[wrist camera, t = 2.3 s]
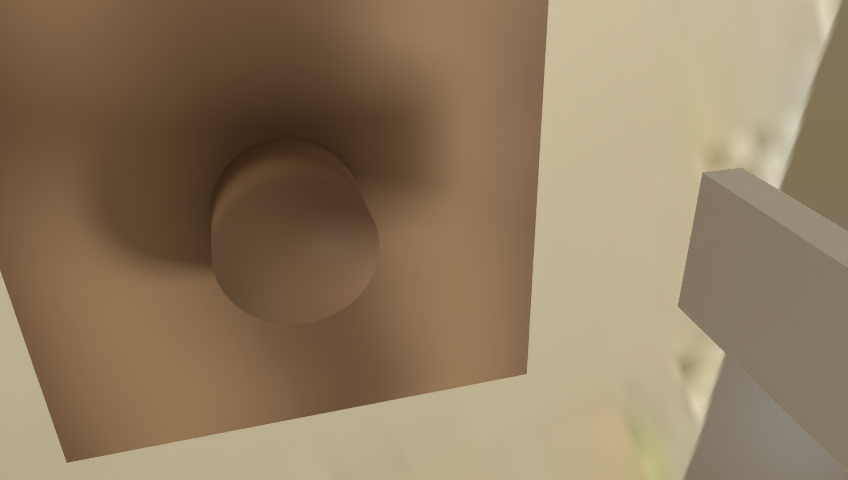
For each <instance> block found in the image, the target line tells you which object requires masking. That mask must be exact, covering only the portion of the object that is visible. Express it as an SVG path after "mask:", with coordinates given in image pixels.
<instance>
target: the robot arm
mask: <svg viewBox="0 0 848 480" xmlns="http://www.w3.org/2000/svg"><path fill="white" fill-rule="evenodd" d="M678 307H679V308H680V309H681V310H682V311H683V312H684V313H685V314H686V315H687V316H688V317H689V318H690V319H691V320H692V321H693V322H694V323H696V324H697V325H698V326H699V327H700V328H701V329H702V330H703V331H704V332H705V333H706V334H707V335H708V336H709V337H710V338H711V339H712V340H713V341H714V342H715V343H716V344H717V345H718V346H719V347H720V348H721V349H722V350H723V351H724V352H725V353H726V354H727V355H728V356H729V357H730V358H731V359H732V360H733V361H734V362H735V363H736V364H737V365H738V366H739V367H740V368H741V369H742V370H743V371H745V372H746V373H747V374H748V375H749V376H750V377H751V378H752V379H753V380H754V381H755V382H756V383H757V384H758V385H759V386H760V387H761V388H762V389H763V390H764V391H765V392H766V393H767V394H768V395H769V396H770V397H771V398H772V399H773V400H774V401H775V402H776V403H777V404H778V405H779V406H780V407H781V408H782V409H783V410H784V411H785V412H786V413H787V414H789V416H790V417H791V418H792V419H793V420H795V421H796V422H797V423H798V424H799V425H800V426H801V427H802V428H803V429H804V430H805V431H806V432H807V433H808V434H809V435H810V436H811V437H812V438H813V439H814V440H815V441H816V442H817V443H818V444H819V445H820V446H821V447H822V448H823V449H824V450H825V451H826V452H827V453H828V454H829V455H830V456H831V457H832V458H833V459H835V461H836V462H837V463H838V464H839V465H840V466H842V467H843V468H844V469H845V470H846V471H847V472H848V231H846V230H845V229H843V228H841V227H840V226H838V225H836V224H835V223H833V222H831V221H830V220H828V219H826V218H825V217H823V216H821V215H819V214H818V213H816V212H814V211H813V210H811V209H810V208H808V207H806V206H805V205H803V204H801V203H800V202H798V201H796V200H795V199H793V198H791V197H790V196H788V195H786V194H785V193H783V192H781V191H780V190H778V189H776V188H775V187H773V186H771V185H770V184H768V183H766V182H765V181H763V180H761V179H760V178H758V177H756V176H755V175H753V174H751V173H750V172H748V171H746V170H744V169H743V168H736V169H728V170H720V171H712V172H703V174H702V179H701V184H700V190H699V195H698V201H697V206H696V211H695V217H694V222H693V228H692V233H691V238H690V244H689V249H688V255H687V260H686V266H685V271H684V276H683V282H682V287H681V293H680V298H679V303H678Z"/></svg>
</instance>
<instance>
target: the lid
mask: <svg viewBox="0 0 848 480" xmlns="http://www.w3.org/2000/svg"><path fill="white" fill-rule="evenodd" d="M547 16H548V0H0V271H1V273H2V276H3V279H4V282H5V285H6V288H7V291H8V294H9V297H10V300H11V302H12V305H13V308H14V311H15V314H16V317H17V320H18V323H19V326H20V328H21V331H22V334H23V337H24V340H25V343H26V346H27V349H28V352H29V354H30V357H31V360H32V363H33V366H34V369H35V372H36V375H37V378H38V381H39V383H40V386H41V389H42V392H43V395H44V398H45V401H46V404H47V407H48V409H49V412H50V415H51V418H52V421H53V424H54V427H55V430H56V433H57V435H58V438H59V441H60V444H61V447H62V450H63V453H64V456H65V459H66V461H67V462H72V461H78V460H83V459H88V458H93V457H98V456H104V455H109V454H114V453H119V452H124V451H129V450H135V449H140V448H145V447H150V446H155V445H161V444H166V443H171V442H176V441H181V440H187V439H192V438H197V437H202V436H207V435H212V434H218V433H223V432H228V431H233V430H238V429H244V428H249V427H254V426H259V425H264V424H269V423H275V422H280V421H285V420H290V419H295V418H301V417H306V416H311V415H316V414H321V413H327V412H332V411H337V410H342V409H347V408H352V407H358V406H363V405H368V404H373V403H378V402H384V401H389V400H394V399H399V398H404V397H409V396H415V395H420V394H425V393H430V392H435V391H441V390H446V389H451V388H456V387H461V386H467V385H472V384H477V383H482V382H487V381H492V380H498V379H503V378H508V377H513V376H518V375H524V374H527V359H528V342H529V324H530V307H531V290H532V273H533V256H534V239H535V221H536V204H537V187H538V170H539V153H540V136H541V119H542V101H543V84H544V67H545V50H546V33H547Z"/></svg>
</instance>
